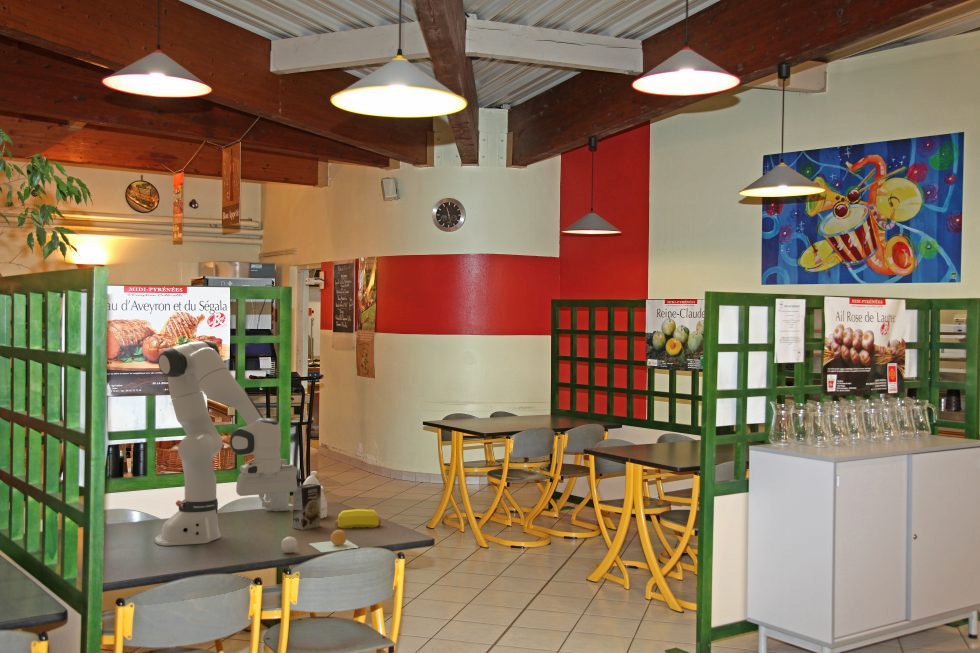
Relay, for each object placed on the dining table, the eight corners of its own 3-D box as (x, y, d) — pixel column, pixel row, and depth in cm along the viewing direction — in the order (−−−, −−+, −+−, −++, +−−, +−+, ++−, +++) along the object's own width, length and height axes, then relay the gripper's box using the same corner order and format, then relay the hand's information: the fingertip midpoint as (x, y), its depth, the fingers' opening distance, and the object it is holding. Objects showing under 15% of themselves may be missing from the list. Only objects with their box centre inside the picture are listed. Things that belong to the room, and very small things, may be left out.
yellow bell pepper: (381, 528, 346) (380, 524, 354) (382, 511, 346) (381, 507, 354) (334, 529, 343) (334, 525, 351) (334, 512, 343) (334, 508, 351)
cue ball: (297, 542, 304) (298, 555, 306) (296, 532, 308) (297, 544, 311) (280, 545, 302) (282, 557, 305) (279, 534, 307) (281, 547, 309)
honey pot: (305, 512, 375) (306, 469, 375) (332, 514, 371) (333, 471, 371) (288, 518, 363) (289, 473, 363) (316, 520, 359) (317, 475, 359)
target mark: (321, 552, 307) (321, 552, 307) (308, 544, 319) (308, 543, 319) (359, 548, 314) (359, 547, 314) (345, 539, 326) (345, 539, 326)
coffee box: (303, 530, 341) (303, 488, 341) (291, 528, 345) (292, 486, 345) (321, 526, 348) (321, 484, 348) (310, 524, 352) (310, 483, 352)
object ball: (346, 548, 316) (332, 546, 313) (340, 544, 321) (326, 542, 318) (350, 532, 317) (336, 530, 314) (344, 529, 322) (330, 527, 319)
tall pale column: (263, 511, 376) (263, 459, 376) (264, 509, 380) (265, 457, 380) (289, 511, 377) (289, 458, 377) (290, 509, 381) (290, 457, 381)
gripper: (294, 462, 313) (294, 502, 313) (235, 466, 303) (234, 507, 303) (300, 465, 307) (299, 505, 307) (239, 469, 297) (239, 511, 297)
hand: (266, 506), depth 305 cm, fingers closed
